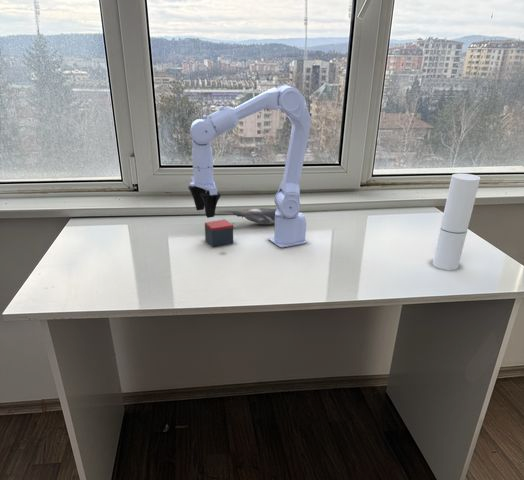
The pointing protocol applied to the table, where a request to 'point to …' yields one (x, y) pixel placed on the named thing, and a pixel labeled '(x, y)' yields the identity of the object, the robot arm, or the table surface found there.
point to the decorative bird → (256, 215)
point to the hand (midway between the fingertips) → (205, 213)
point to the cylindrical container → (455, 220)
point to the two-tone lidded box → (219, 233)
